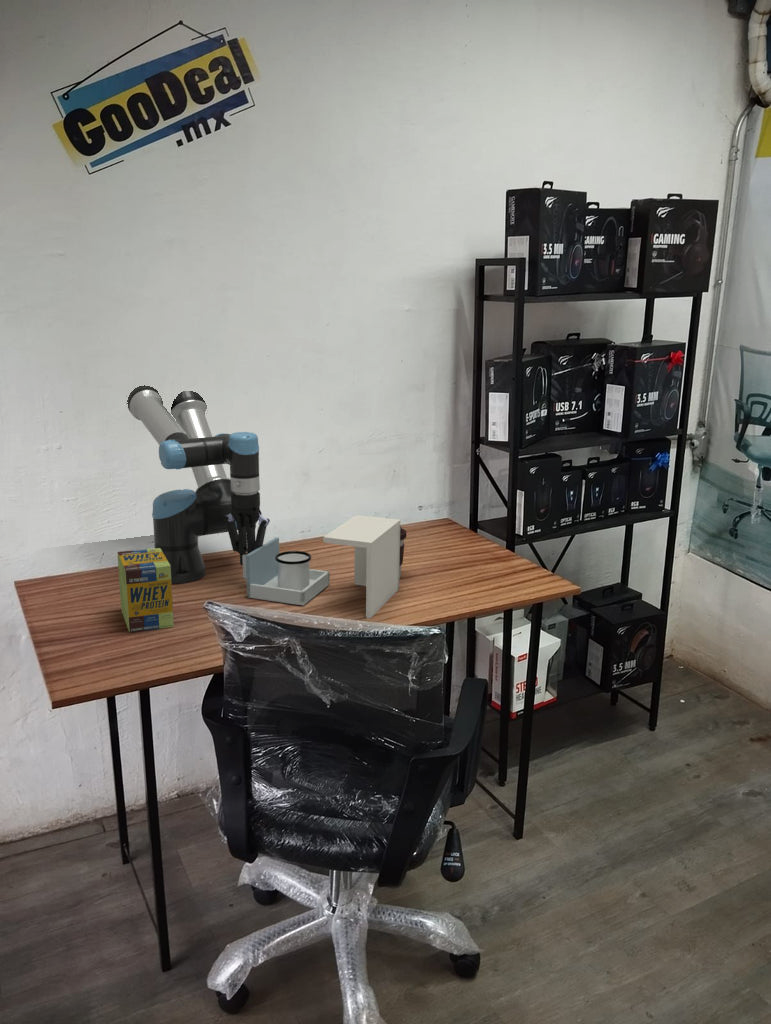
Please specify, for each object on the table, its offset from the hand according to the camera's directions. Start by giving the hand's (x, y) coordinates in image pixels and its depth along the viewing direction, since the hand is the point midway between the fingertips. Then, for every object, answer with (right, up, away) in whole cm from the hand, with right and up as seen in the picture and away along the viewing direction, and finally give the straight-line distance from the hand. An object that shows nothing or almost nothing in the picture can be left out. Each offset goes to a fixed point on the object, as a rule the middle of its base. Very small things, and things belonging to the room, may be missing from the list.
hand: (248, 577), depth 228 cm
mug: (+12, -3, -4) cm, 13 cm away
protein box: (-21, -9, -22) cm, 32 cm away
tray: (+11, -4, -3) cm, 12 cm away
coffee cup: (+38, -1, +9) cm, 39 cm away
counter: (+31, -5, -8) cm, 32 cm away
